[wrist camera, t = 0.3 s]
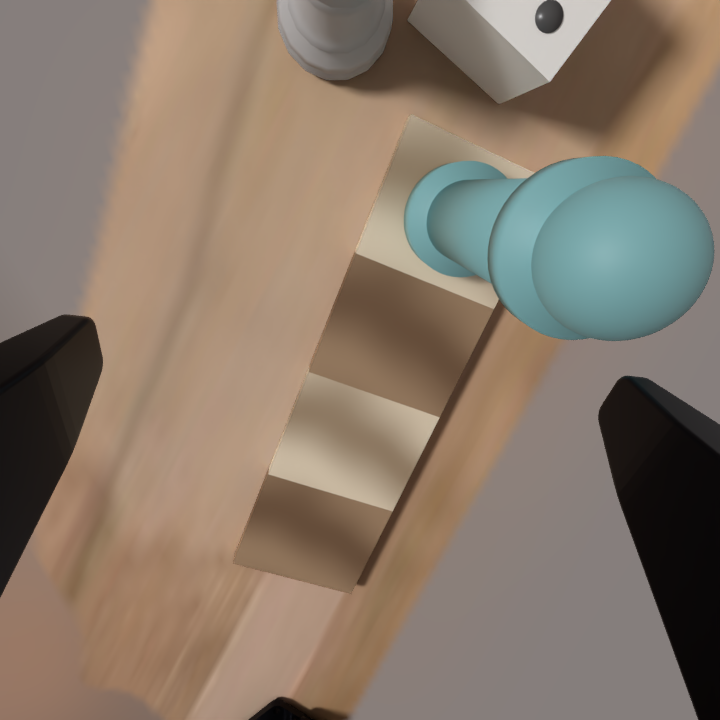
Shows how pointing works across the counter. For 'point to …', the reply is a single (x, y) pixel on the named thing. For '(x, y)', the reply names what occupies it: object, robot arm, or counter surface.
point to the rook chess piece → (335, 34)
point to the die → (506, 38)
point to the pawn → (567, 243)
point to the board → (370, 385)
